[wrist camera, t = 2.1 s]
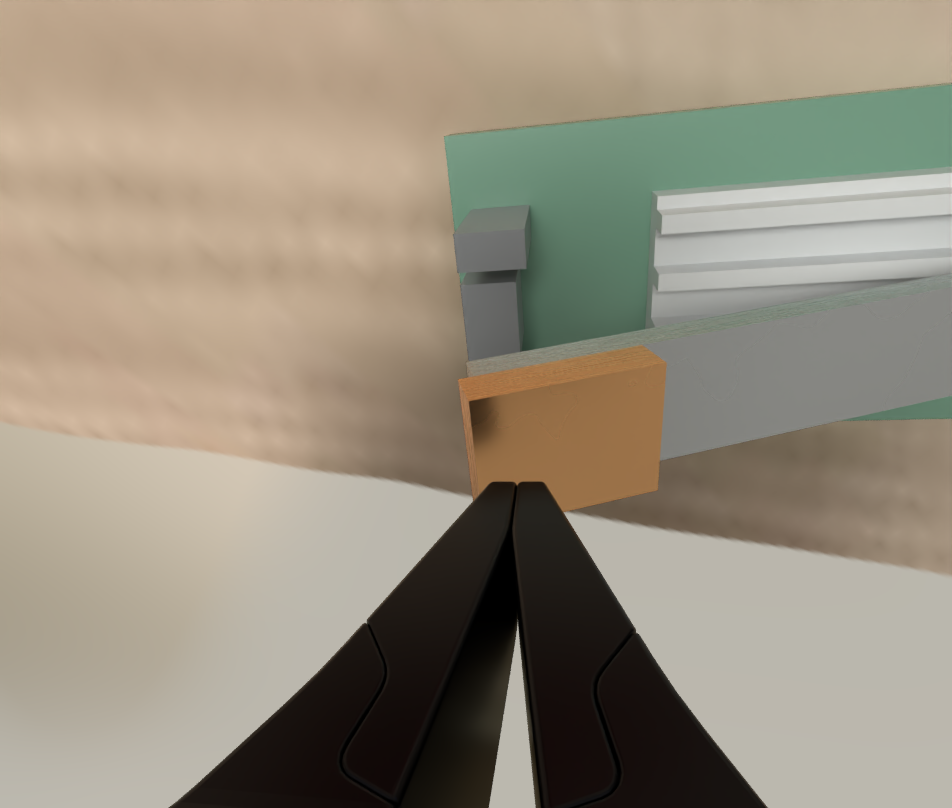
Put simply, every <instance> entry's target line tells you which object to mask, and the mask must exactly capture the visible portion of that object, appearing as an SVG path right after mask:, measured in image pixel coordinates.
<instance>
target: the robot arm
mask: <svg viewBox="0 0 952 808" xmlns="http://www.w3.org/2000/svg"><path fill="white" fill-rule="evenodd" d="M517 622H518V626H519V637H520V638H519V639H520V648H521V659H522V670H523V680H524V691H525V701H526V712H527V722H528V732H529V743H530V753H531V763H532V773H533V785H534V794H535V805H536V808H767V806H766V805H765V804H764V803H763V801H762V800H761V799H760V798H759V796H758V795H757V794H756V793H755V791H754V790H753V789H752V788H751V786H750V785H749V784H748V783H747V781H746V780H745V779H744V778H743V776H742V775H741V774H740V773H739V771H738V770H737V769H736V768H735V766H734V765H733V764H732V763H731V761H730V760H729V759H728V758H727V756H726V755H725V754H724V753H723V751H722V750H721V749H720V748H719V746H718V745H717V744H716V743H715V741H714V740H713V739H712V738H711V736H710V735H709V734H708V733H707V731H706V730H705V729H704V727H703V726H702V725H701V723H700V722H699V721H698V720H697V718H696V717H695V716H694V714H693V713H692V712H691V710H690V709H689V708H688V706H687V705H686V704H685V702H684V701H683V700H682V698H681V697H680V696H679V695H678V693H677V692H676V691H675V689H674V687H673V686H672V684H671V683H670V681H669V680H668V678H667V677H666V675H665V674H664V673H663V671H662V670H661V668H660V667H659V665H658V664H657V662H656V660H655V659H654V658H653V656H652V654H651V653H650V651H649V650H648V648H647V646H646V645H645V643H644V641H643V640H642V638H641V637H640V635H639V634H638V633H636V629H635V627H634V626H633V624H632V623H631V621H630V619H629V618H628V616H627V615H626V613H625V611H624V610H623V608H622V606H621V605H620V603H619V602H618V600H617V598H616V597H615V595H614V594H613V592H612V590H611V589H610V587H609V586H608V584H607V582H606V581H605V579H604V578H603V576H602V574H601V573H600V571H599V569H598V568H597V566H596V565H595V563H594V561H593V560H592V558H591V556H590V555H589V553H588V552H587V550H586V548H585V547H584V545H583V544H582V542H581V540H580V539H579V537H578V535H577V534H576V532H575V531H574V529H573V528H572V526H571V524H570V523H569V521H568V519H567V518H566V516H565V514H564V513H563V511H562V510H561V508H560V506H559V505H558V503H557V502H556V500H555V498H554V497H553V495H552V494H551V492H550V490H549V489H548V487H547V485H546V484H545V483H544V482H541V481H522V482H520V483H518V485H517V484H516V483H515V482H512V481H495V482H491V483H489V484H488V485H487V487H486V488H485V489H484V490H483V491H482V492H481V493H480V494H479V495H478V497H477V498H476V499H475V500H474V501H473V502H472V503H471V505H469V507H468V508H467V509H466V510H465V511H464V512H463V513H462V514H461V515H460V517H459V518H458V519H457V520H456V521H455V522H454V523H453V524H452V525H451V527H450V528H449V529H448V530H447V531H446V532H445V533H444V534H443V536H442V537H441V538H440V539H439V540H438V541H437V542H436V543H435V544H434V546H433V547H432V548H431V549H430V550H429V551H428V552H427V553H426V555H425V556H424V557H423V558H422V559H421V560H420V561H419V562H418V563H417V564H416V566H415V567H414V568H413V569H412V570H411V571H410V572H409V573H408V574H407V576H406V577H405V578H404V579H403V580H402V581H401V582H400V584H399V585H398V586H397V587H396V588H395V589H394V590H393V591H392V592H391V593H390V595H389V596H388V597H387V598H386V599H385V600H384V601H383V603H381V604H380V606H379V607H378V608H377V609H376V610H375V611H374V612H373V613H372V615H371V616H370V617H369V618H368V619H367V624H366V623H364V624H362V626H360V628H359V629H358V630H357V631H356V632H355V633H354V634H353V635H352V636H351V638H350V639H349V640H348V641H347V642H346V643H345V644H344V645H343V646H342V647H341V648H340V649H339V651H337V653H336V654H335V655H334V656H333V657H332V658H331V659H330V660H329V661H328V662H327V663H326V664H325V665H324V666H323V668H321V669H320V671H318V673H317V674H315V675H314V676H313V677H312V678H311V679H310V680H309V681H308V682H307V683H306V684H305V685H304V686H303V687H302V688H301V689H300V690H299V691H298V692H297V693H296V694H295V695H293V696H292V697H291V698H290V699H289V700H288V701H287V702H286V703H285V704H284V705H283V706H282V707H281V708H280V709H279V710H277V712H275V713H274V714H273V715H272V716H271V717H270V718H269V719H268V720H267V721H265V722H264V723H263V724H262V725H261V726H260V727H259V728H258V729H257V730H256V731H254V732H253V733H252V734H251V735H250V736H249V737H248V738H247V739H246V740H245V741H244V742H242V743H241V744H240V745H239V746H238V747H237V748H236V749H235V750H234V751H233V752H232V753H231V754H229V755H228V756H227V757H226V758H225V759H224V760H223V761H222V762H221V763H220V764H219V765H217V766H216V767H215V768H214V769H213V770H212V771H211V772H210V773H209V774H208V775H206V776H205V777H204V778H203V779H202V780H201V781H200V782H199V783H198V784H197V785H195V786H194V787H193V788H192V789H191V790H190V791H189V792H187V793H186V794H185V795H184V796H183V797H181V798H180V799H179V800H178V801H177V802H175V803H174V804H173V805H172V806H170V807H169V808H489V802H490V796H491V790H492V784H493V777H494V771H495V765H496V759H497V752H498V746H499V740H500V733H501V727H502V721H503V714H504V708H505V702H506V696H507V689H508V683H509V676H510V671H511V664H512V658H513V652H514V646H515V639H516V631H517Z"/></svg>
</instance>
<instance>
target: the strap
mask: <svg viewBox="0 0 952 808" xmlns="http://www.w3.org/2000/svg"><path fill="white" fill-rule="evenodd" d="M466 366H467V374H468V378H463V379H458V383H459V391H460V400H461V408H462V416H463V424H464V432H465V440H466V448H467V456H468V464H469V472H470V480H471V488H472V496H473V501H474V500H475V499H476V498H477V497H478V495H479V494H480V493H481V492H482V491H483V490H484V489H485V488H486V487H487V485H488V484H489V483H491V482H495V481H512V482H515V483H516V484H517V485H518V483H520V482H522V481H541V482H544V483H545V484H546V485H547V487H548V489H549V490H550V492H551V494H552V495H553V497H554V498H555V500H556V502H557V503H558V505H559V506H560V508H561V510H562V511H563V512H566V511H571V510H575V509H579V508H583V507H588V506H592V505H596V504H601V503H605V502H609V501H614V500H618V499H622V498H627V497H631V496H635V495H640V494H644V493H648V492H653V491H657V490H658V479H659V465H660V461H661V460H666V459H670V458H675V457H679V456H684V455H688V454H693V453H697V452H702V451H706V450H711V449H715V448H720V447H724V446H729V445H733V444H738V443H742V442H747V441H751V440H756V439H760V438H765V437H769V436H774V435H778V434H783V433H787V432H792V431H796V430H800V429H805V428H809V427H814V426H818V425H823V424H827V423H832V422H836V421H841V420H845V419H850V418H854V417H859V416H863V415H868V414H872V413H877V412H881V411H886V410H890V409H895V408H899V407H904V406H908V405H913V404H917V403H922V402H926V401H931V400H935V399H940V398H944V397H948V396H952V273H951V274H945V275H940V276H934V277H929V278H923V279H918V280H912V281H907V282H901V283H896V284H890V285H885V286H879V287H874V288H868V289H863V290H857V291H852V292H846V293H841V294H835V295H830V296H824V297H819V298H813V299H808V300H802V301H797V302H792V303H786V304H781V305H775V306H770V307H764V308H759V309H753V310H748V311H742V312H737V313H731V314H726V315H720V316H715V317H709V318H704V319H698V320H693V321H687V322H682V323H676V324H671V325H665V326H660V327H654V328H649V329H643V330H638V331H632V332H627V333H621V334H616V335H611V336H605V337H600V338H594V339H589V340H583V341H578V342H572V343H567V344H561V345H556V346H550V347H545V348H539V349H534V350H528V351H523V352H517V353H512V354H506V355H501V356H495V357H490V358H484V359H479V360H473V361H468V362H466Z"/></svg>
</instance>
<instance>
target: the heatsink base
mask: <svg viewBox="0 0 952 808" xmlns="http://www.w3.org/2000/svg"><path fill="white" fill-rule="evenodd" d="M444 140H445V149H446V158H447V167H448V176H449V185H450V194H451V203H452V212H453V221H454V230H455V233H454V234H453V237H454V245H455V254H456V263H457V272H458V273H459V274H460V283H461V285H460V287H461V296H462V305H463V314H464V323H465V332H466V341H467V350H468V359H469V361H473V360H479V359H484V358H490V357H495V356H501V355H506V354H512V353H517V352H523V351H528V350H534V349H539V348H545V347H550V346H556V345H561V344H567V343H572V342H578V341H583V340H589V339H594V338H600V337H605V336H611V335H616V334H621V333H627V332H632V331H638V330H643V329H649V328H654V327H660V326H665V325H671V324H676V323H682V322H687V321H693V320H698V319H704V318H709V317H715V316H720V315H726V314H731V313H737V312H742V311H748V310H753V309H759V308H764V307H770V306H775V305H781V304H786V303H792V302H797V301H802V300H808V299H813V298H819V297H824V296H830V295H835V294H841V293H846V292H852V291H857V290H863V289H868V288H874V287H879V286H885V285H890V284H896V283H901V282H907V281H912V280H918V279H923V278H929V277H934V276H940V275H945V274H951V273H952V83H946V84H936V85H926V86H916V87H907V88H897V89H887V90H877V91H868V92H858V93H848V94H838V95H829V96H819V97H809V98H799V99H790V100H780V101H770V102H760V103H751V104H741V105H731V106H721V107H712V108H702V109H692V110H682V111H673V112H663V113H653V114H643V115H633V116H624V117H614V118H604V119H594V120H585V121H575V122H565V123H555V124H546V125H536V126H526V127H516V128H507V129H497V130H487V131H477V132H468V133H458V134H450V135H447V136H444ZM907 419H952V396H948V397H944V398H940V399H935V400H931V401H926V402H922V403H917V404H913V405H908V406H904V407H899V408H895V409H890V410H886V411H881V412H877V413H872V414H868V415H863V416H859V417H854V418H850V419H845V420H841V421H857V420H907Z"/></svg>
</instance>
